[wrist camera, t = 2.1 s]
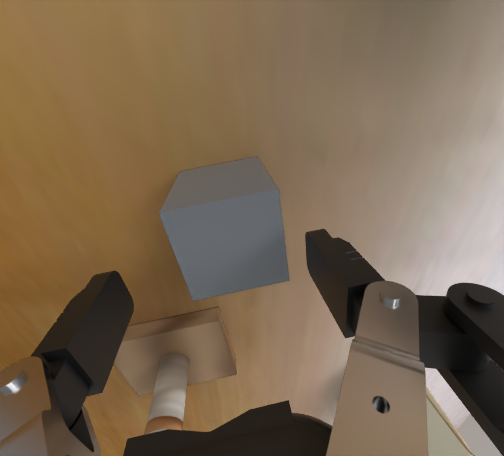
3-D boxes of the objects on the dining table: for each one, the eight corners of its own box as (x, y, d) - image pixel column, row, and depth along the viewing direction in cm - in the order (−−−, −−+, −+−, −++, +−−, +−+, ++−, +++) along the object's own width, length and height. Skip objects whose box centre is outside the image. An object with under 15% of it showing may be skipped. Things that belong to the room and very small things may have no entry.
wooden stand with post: (218, 307, 22) (218, 414, 15) (235, 359, 26) (242, 466, 19) (108, 330, 22) (51, 452, 14) (142, 380, 26) (111, 496, 18)
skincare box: (407, 361, 30) (509, 503, 20) (375, 377, 31) (457, 521, 21) (392, 337, 28) (500, 487, 17) (357, 355, 28) (440, 509, 18)
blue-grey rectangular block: (257, 156, 16) (278, 188, 10) (267, 224, 19) (289, 280, 13) (179, 171, 16) (158, 213, 10) (200, 237, 19) (193, 301, 13)
